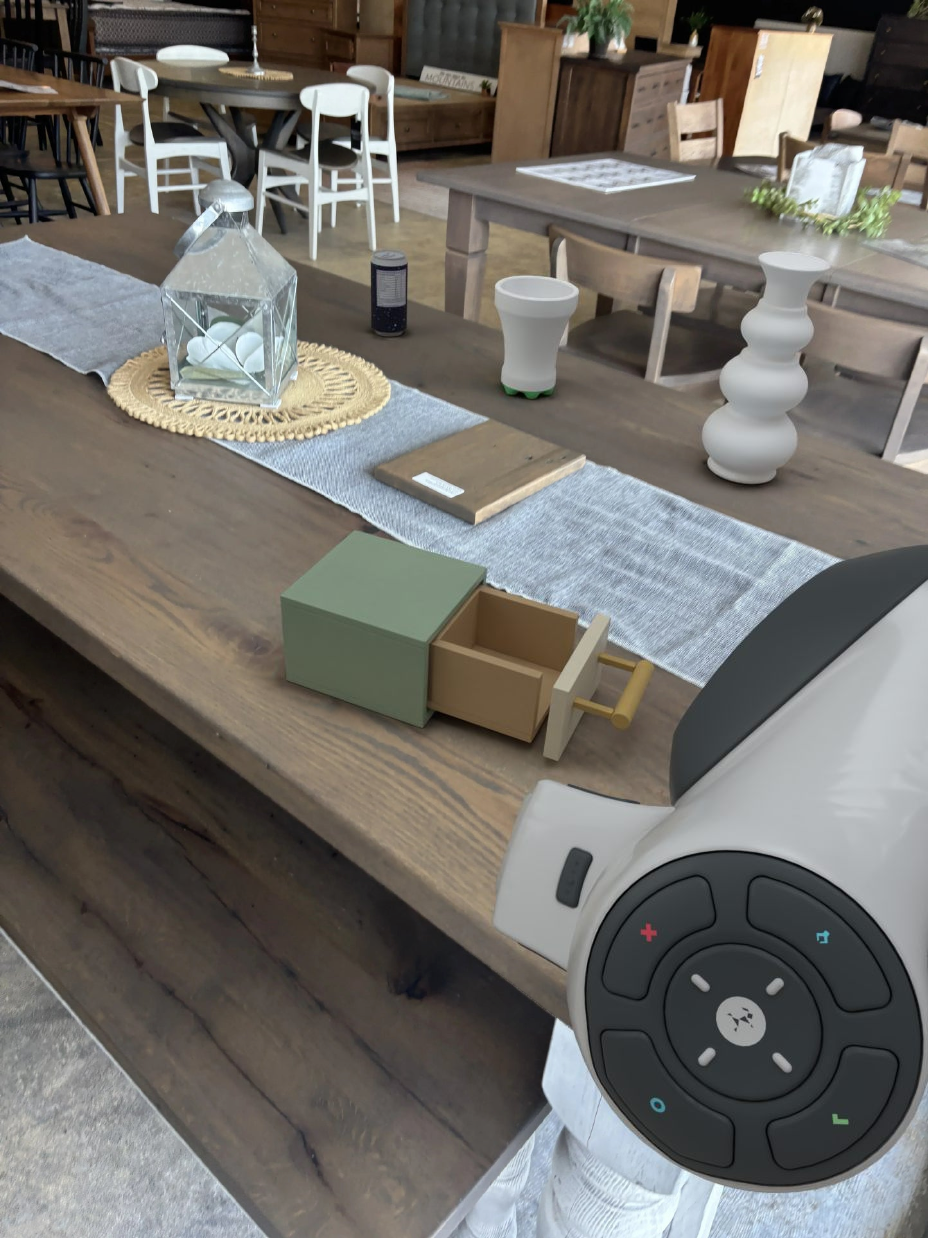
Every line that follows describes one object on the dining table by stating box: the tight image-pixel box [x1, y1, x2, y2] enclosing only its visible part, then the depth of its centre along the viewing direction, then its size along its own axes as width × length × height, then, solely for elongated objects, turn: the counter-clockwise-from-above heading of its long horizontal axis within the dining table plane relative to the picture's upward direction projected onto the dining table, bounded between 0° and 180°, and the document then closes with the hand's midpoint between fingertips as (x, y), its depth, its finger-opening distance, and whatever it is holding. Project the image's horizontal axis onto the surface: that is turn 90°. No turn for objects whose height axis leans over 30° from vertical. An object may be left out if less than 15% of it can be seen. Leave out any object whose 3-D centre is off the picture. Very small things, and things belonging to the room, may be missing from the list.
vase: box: [701, 250, 831, 485], centre depth 103 cm, size 11×11×25 cm
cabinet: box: [279, 529, 488, 729], centre depth 74 cm, size 12×11×8 cm
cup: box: [494, 275, 580, 400], centre depth 124 cm, size 11×11×14 cm
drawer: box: [427, 584, 655, 762], centre depth 70 cm, size 16×10×7 cm, turn 66°
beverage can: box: [370, 249, 409, 338], centre depth 141 cm, size 6×6×12 cm
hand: (719, 901), depth 47 cm, fingers open, 8 cm apart
